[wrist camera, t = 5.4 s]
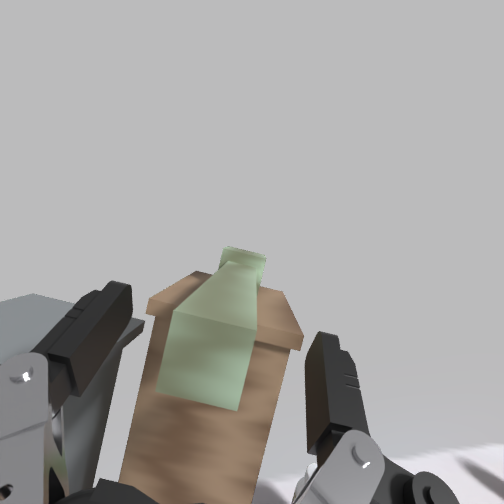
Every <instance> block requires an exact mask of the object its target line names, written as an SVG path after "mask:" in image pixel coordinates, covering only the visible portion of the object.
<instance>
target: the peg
mask: <svg viewBox="0 0 504 504" xmlns="http://www.w3.org/2000/svg"><path fill="white" fill-rule="evenodd" d="M265 262H266V257H265V255H262V254H258V253H254V252H250V251H246V250H242V249H238V248H233V247H229V246H228V247H226V248H223V252H222V256H221V260H220V265H219V269H218V271H217V272H216V273H214V275H212V276H211V277H210V278H209V279H208V280H207V281H206V282H204V283H203V284H202V285H201V286H200V287H199V288H198V289H197V290H196V291H194V292H193V293H192V294H191V295H190V296H189V297H188V298H187V299H186V300H185V301H183V302H182V303H181V304H180V305H179V306H178V307H177V308H176V309H175V310H173V315H172V319H171V323H170V328H169V332H168V337H167V341H166V345H165V350H164V354H163V359H162V363H161V367H160V372H159V376H158V381H157V385H156V389H155V392H159V393H163V394H167V395H172V396H176V397H180V398H184V399H188V400H192V401H196V402H200V403H205V404H209V405H213V406H217V407H221V408H225V409H229V410H234V411H237V410H238V406H239V402H240V398H241V394H242V390H243V386H244V382H245V378H246V374H247V370H248V366H249V361H250V357H251V353H252V349H253V345H254V341H255V337H256V333H257V295H258V291H259V287H260V283H261V279H262V274H263V270H264V266H265Z"/></svg>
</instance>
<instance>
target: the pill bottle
mask: <svg viewBox="0 0 504 504" xmlns="http://www.w3.org/2000/svg"><path fill="white" fill-rule="evenodd" d="M316 467H317V463H312V464H310V465H308V467H307V470H306V473H305V477H303V478H301V479H300V480H299V481H298V483H297V486H296V489H295V492H294V496H293V500H292V503H293V501H294V500H295V498H296V497H297V495H298V494H299V492H300V491H301V489H302V488H303V486H304V485H305V483H306V482H307V480H308V479H309V478H310V476H311V475H312V473H313V472H314V470H315V469H316ZM292 503H291V504H292Z"/></svg>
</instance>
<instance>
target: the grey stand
mask: <svg viewBox="0 0 504 504" xmlns="http://www.w3.org/2000/svg"><path fill="white" fill-rule="evenodd" d="M74 305H75V304H74V303H70V302H66V301H61V300H57V299H53V298H49V297H45V296H41V295H37V294H29V295H26V296H22V297H18V298H14V299H10V300H6V301H2V302H0V364H3V363H4V362H5V361H7V360H8V359H10V358H12V357H14V356H16V355H19V354H23V353H29V352H30V351H31V350H32V349H33V348H34V347H35V346H36V345H37V344H38V343H39V342H40V341H41V340H42V339H43V338H44V337H45V336H46V335H47V334H48V332H49V331H50V330H51V329H52V328H53V327H54V326H55V325H56V324H57V323H58V322H59V321H60V320H61V319H62V318H63V317H65V314H66V313H67V312H68V311H69V310H70V309H72V308H73V306H74ZM144 323H145V321H144V320H140V319H136V318H132V317H131V320H130V322H129V324H128V326H127V327H126V329H125V330H124V332H123V333H122V335H121V336H120V338H119V339H118V341H117V342H116V344H115V345H114V347H113V348H112V350H111V351H110V353H109V354H108V356H107V357H106V359H105V360H104V362H103V364H102V365H101V367H100V368H99V370H98V371H97V373H96V374H95V376H94V377H93V379H92V380H91V382H90V383H89V385H88V386H87V388H86V389H85V391H84V392H83V394H82V395H81V397H77V396H73V395H69V396H68V398H67V399H66V401H65V402H64V404H63V421H64V444H65V462H66V468H67V473H68V481H69V495H71V494H73V493H76V492H78V491H81V490H85V489H89V488H92V487H93V482H94V478H95V473H96V469H97V464H98V460H99V455H100V450H101V446H102V441H103V437H104V432H105V428H106V423H107V418H108V414H109V409H110V405H111V400H112V395H113V391H114V386H115V382H116V377H117V372H118V368H119V363H120V359H121V354H122V349H123V348H124V347H125V346H126V345H128V344H129V343H130V342H131V341H132V340H134V339H135V338H136V337H137V336H138V335H139V334H141V333H142V332H143V328H144Z"/></svg>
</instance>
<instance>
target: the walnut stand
mask: <svg viewBox="0 0 504 504" xmlns="http://www.w3.org/2000/svg"><path fill="white" fill-rule="evenodd" d="M211 276H212V275H211V274H207V273H203V272H199V271H195V272H193V273H192V274H190V275H188V276H187V277H185V278H183V279H181V280H180V281H178V282H176V283H175V284H173V285H171V286H169V287H168V288H166V289H164V290H163V291H161V292H159V293H158V294H156V295H154V296H152V297H151V298H149V301H148V305H147V310H146V314H149V315H153V316H155V321H154V325H153V330H152V334H151V338H150V343H149V348H148V352H147V356H146V361H145V365H144V370H143V374H142V379H141V383H140V388H139V392H138V397H137V401H136V405H135V410H134V414H133V419H132V423H131V428H130V432H129V437H128V441H127V445H126V450H125V455H124V459H123V463H122V468H121V472H120V477H119V481H118V483H122V484H126V485H131V486H134V487H135V488H137V489H138V490H140V491H141V492H143V493H144V494H146V495H147V496H149V497H150V498H152V499H153V500H155V501H156V502H158V503H159V504H194V503H205V504H251V502H252V498H253V494H254V490H255V487H256V483H257V479H258V475H259V471H260V467H261V463H262V459H263V455H264V451H265V447H266V443H267V440H268V436H269V432H270V428H271V424H272V420H273V415H274V412H275V408H276V404H277V400H278V396H279V393H280V389H281V385H282V381H283V377H284V373H285V369H286V365H287V361H288V357H289V353H290V349H294V350H298V351H300V350H301V346H302V342H303V338H304V335H303V333H302V331H301V329H300V327H299V325H298V322H297V320H296V318H295V316H294V314H293V312H292V310H291V308H290V306H289V304H288V302H287V300H286V298H285V295H284V294H283V292H282V291H277V290H273V289H269V288H265V287H261V286H260V287H259V291H258V295H257V333H256V337H255V341H254V345H253V349H252V353H251V357H250V361H249V366H248V370H247V374H246V378H245V382H244V386H243V390H242V394H241V398H240V402H239V406H238V410H237V411H234V410H229V409H225V408H221V407H217V406H213V405H209V404H205V403H200V402H196V401H192V400H188V399H184V398H180V397H176V396H172V395H167V394H163V393H159V392H155V389H156V385H157V381H158V376H159V372H160V367H161V363H162V359H163V354H164V350H165V345H166V341H167V337H168V332H169V328H170V323H171V319H172V315H173V310H175V309H176V308H177V307H178V306H179V305H180V304H181V303H182V302H183V301H185V300H186V299H187V298H188V297H189V296H190V295H191V294H192V293H193V292H194V291H196V290H197V289H198V288H199V287H200V286H201V285H202V284H203V283H204V282H206V281H207V280H208V279H209V278H210V277H211Z"/></svg>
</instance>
